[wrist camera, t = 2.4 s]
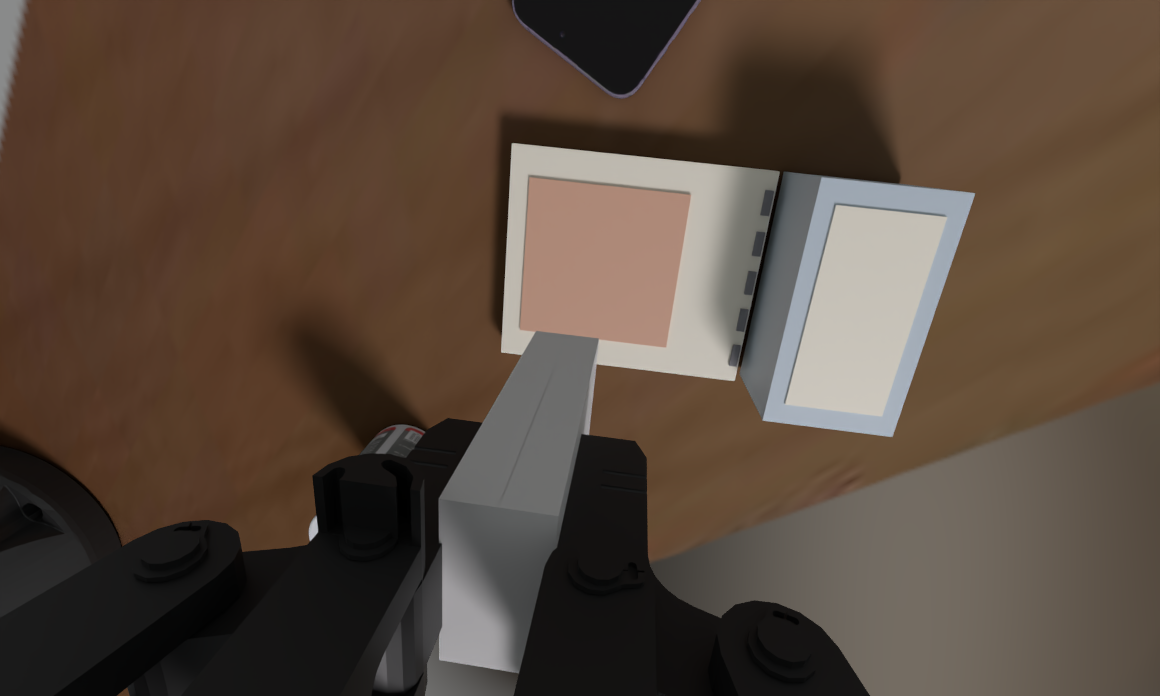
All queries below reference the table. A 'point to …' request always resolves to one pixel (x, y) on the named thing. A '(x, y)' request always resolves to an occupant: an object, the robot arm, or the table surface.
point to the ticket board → (635, 256)
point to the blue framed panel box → (848, 299)
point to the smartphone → (607, 35)
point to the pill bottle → (386, 450)
